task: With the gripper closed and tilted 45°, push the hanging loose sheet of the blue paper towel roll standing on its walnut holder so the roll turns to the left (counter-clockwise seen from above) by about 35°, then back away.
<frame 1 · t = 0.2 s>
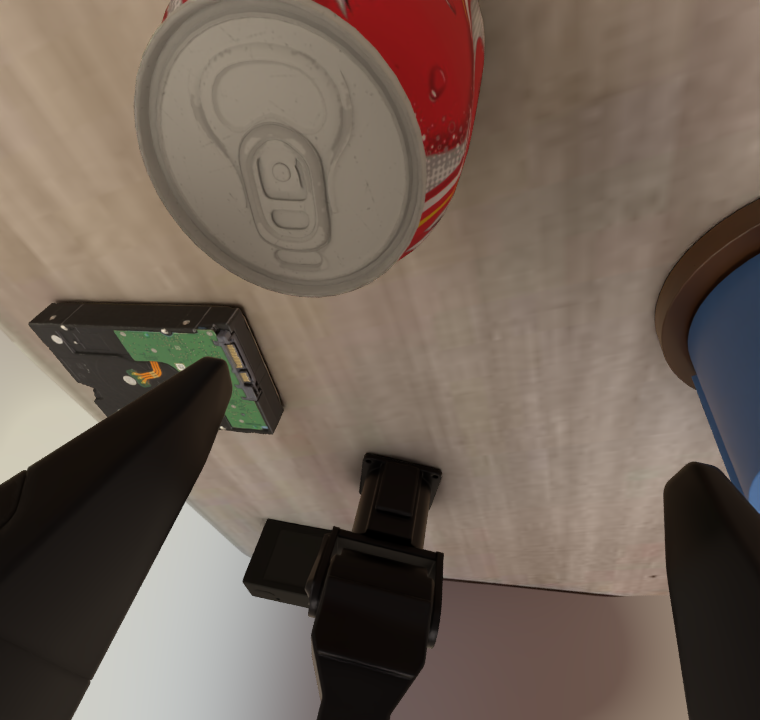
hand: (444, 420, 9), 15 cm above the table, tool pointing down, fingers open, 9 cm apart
digital camera: (314, 535, 52), on the table
soda can: (393, 44, 17), on the table
disk drive: (177, 354, 33), on the table
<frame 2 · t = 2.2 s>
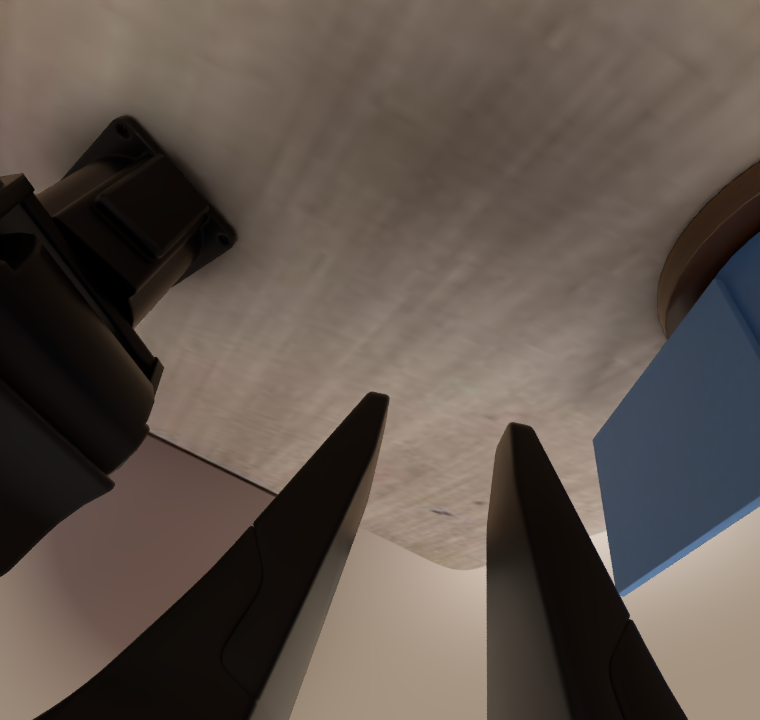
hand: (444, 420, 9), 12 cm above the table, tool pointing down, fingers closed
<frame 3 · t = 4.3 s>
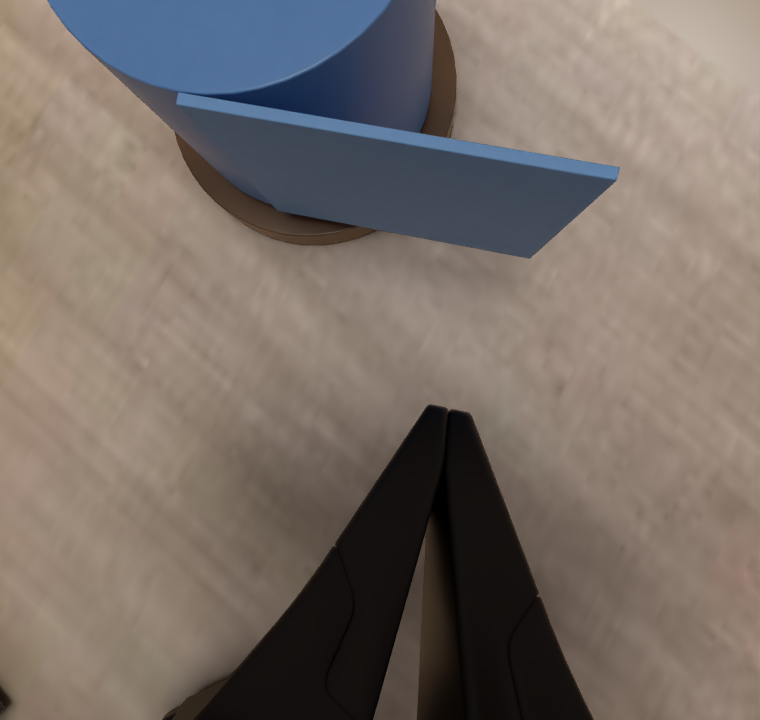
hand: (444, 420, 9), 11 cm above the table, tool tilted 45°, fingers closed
towel roll: (348, 7, 13), point 7 cm above the table, hinge at 0.0°
holder: (317, 110, 20), on the table
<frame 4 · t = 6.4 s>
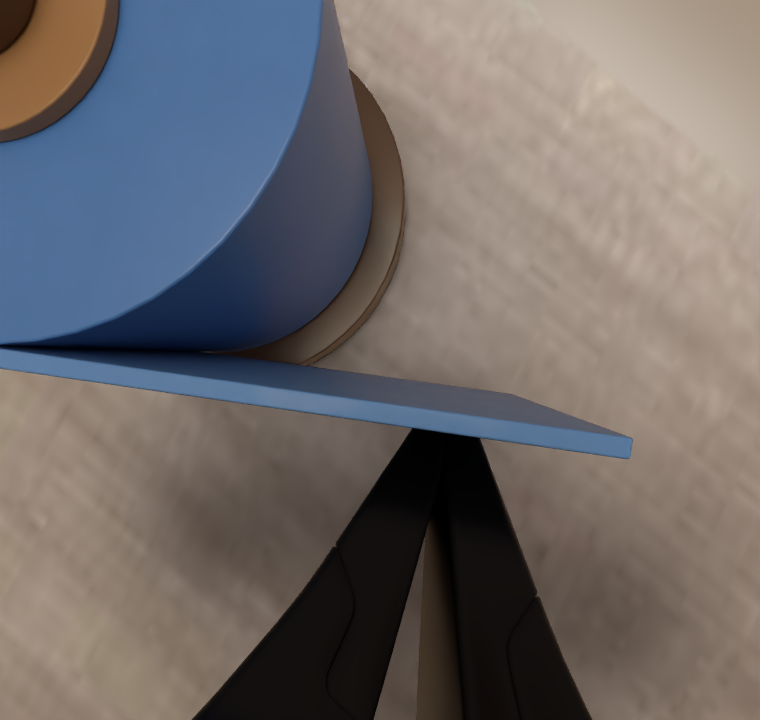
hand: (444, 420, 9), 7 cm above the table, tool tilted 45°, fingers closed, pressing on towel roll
towel roll: (237, 141, 10), point 7 cm above the table, hinge at 3.1°, touching gripper
holder: (241, 216, 16), on the table
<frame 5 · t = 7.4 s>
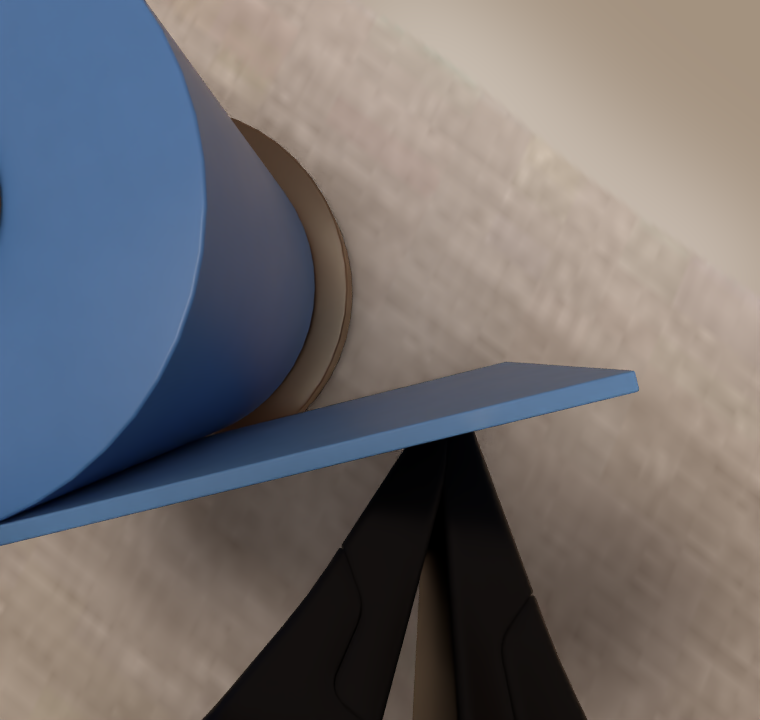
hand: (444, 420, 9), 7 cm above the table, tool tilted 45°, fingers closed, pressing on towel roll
towel roll: (156, 231, 10), point 7 cm above the table, hinge at 22.6°, touching gripper
holder: (188, 294, 16), on the table
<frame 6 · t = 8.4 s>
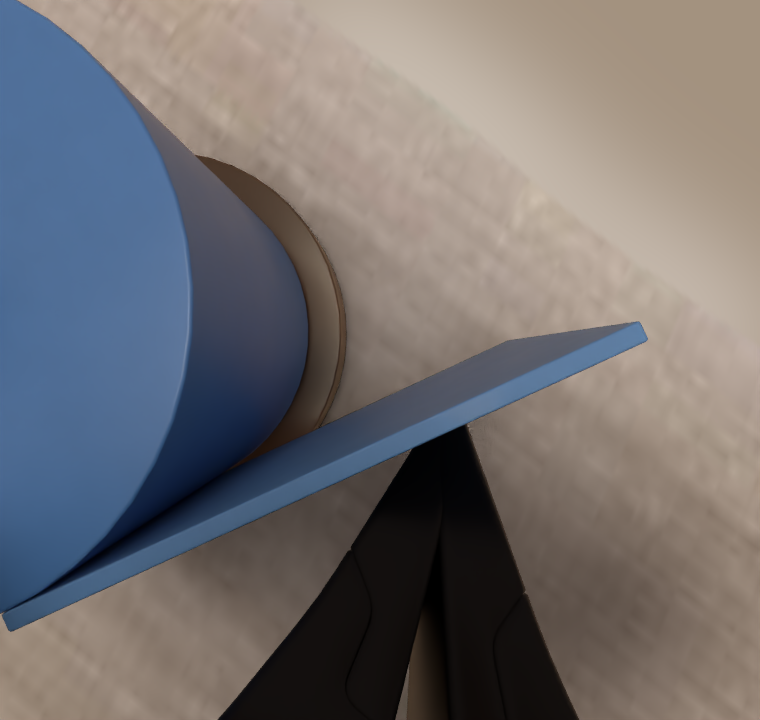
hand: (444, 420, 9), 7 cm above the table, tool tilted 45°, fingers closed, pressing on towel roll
towel roll: (141, 277, 10), point 7 cm above the table, hinge at 33.7°, touching gripper
holder: (182, 335, 16), on the table
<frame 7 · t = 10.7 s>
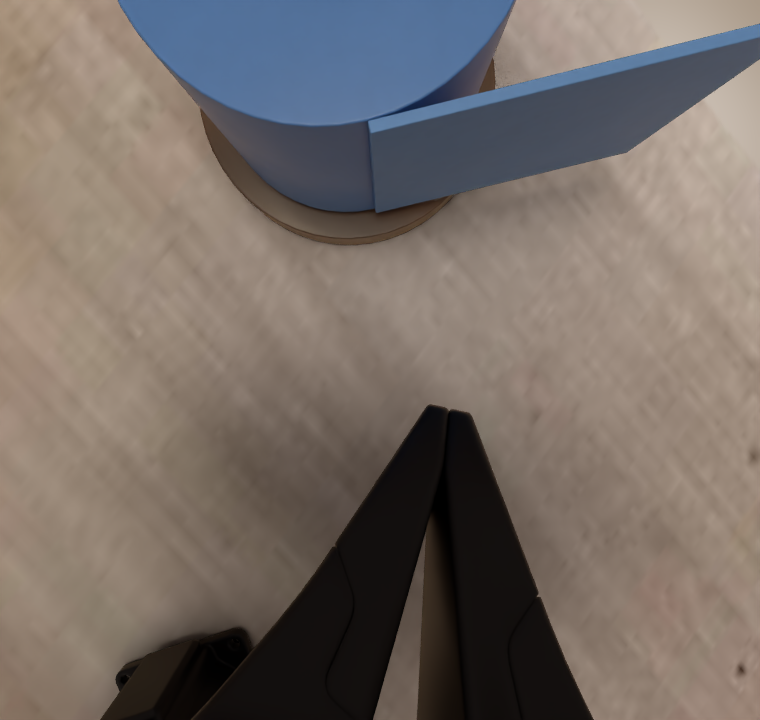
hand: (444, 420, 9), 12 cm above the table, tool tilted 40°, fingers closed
holder: (349, 104, 20), on the table
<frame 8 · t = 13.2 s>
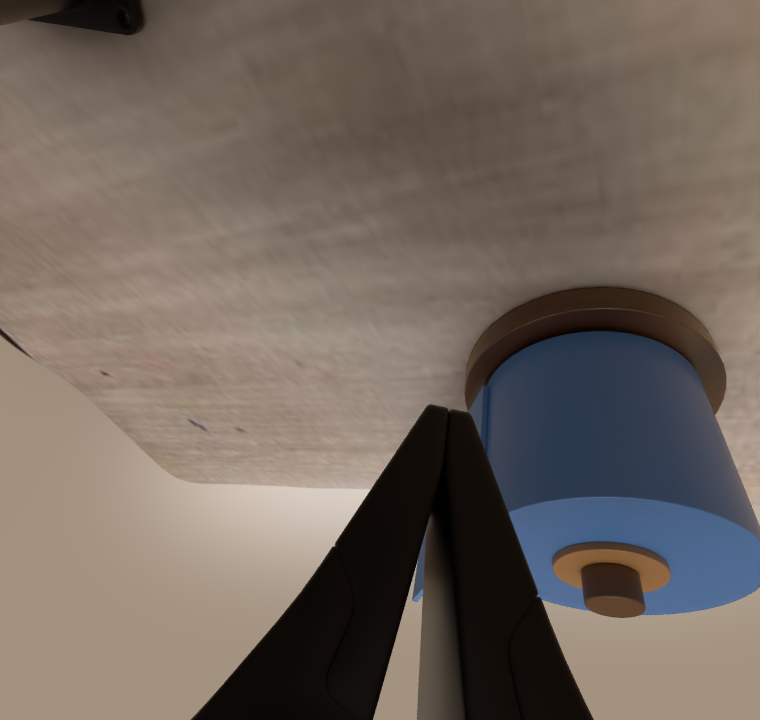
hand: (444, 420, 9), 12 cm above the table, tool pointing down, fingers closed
towel roll: (565, 513, 21), point 7 cm above the table, hinge at 33.8°
holder: (580, 380, 24), on the table
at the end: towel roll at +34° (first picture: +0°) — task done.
